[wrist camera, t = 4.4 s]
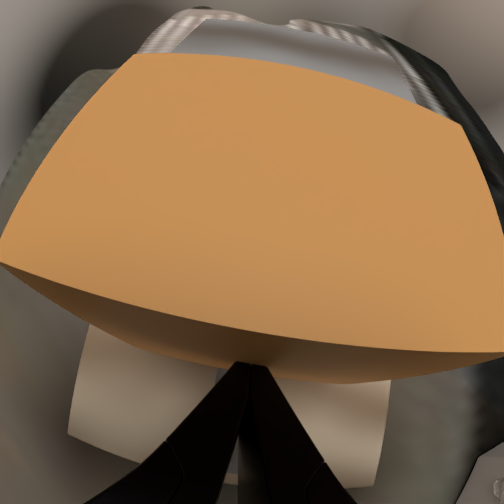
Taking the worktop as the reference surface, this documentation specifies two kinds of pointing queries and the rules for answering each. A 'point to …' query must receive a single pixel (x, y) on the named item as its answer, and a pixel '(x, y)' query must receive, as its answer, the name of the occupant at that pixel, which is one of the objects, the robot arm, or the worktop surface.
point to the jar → (486, 479)
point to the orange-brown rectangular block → (266, 223)
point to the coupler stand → (205, 377)
